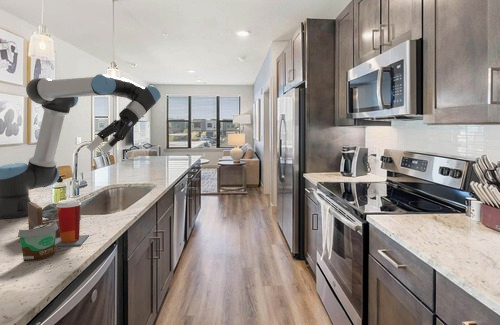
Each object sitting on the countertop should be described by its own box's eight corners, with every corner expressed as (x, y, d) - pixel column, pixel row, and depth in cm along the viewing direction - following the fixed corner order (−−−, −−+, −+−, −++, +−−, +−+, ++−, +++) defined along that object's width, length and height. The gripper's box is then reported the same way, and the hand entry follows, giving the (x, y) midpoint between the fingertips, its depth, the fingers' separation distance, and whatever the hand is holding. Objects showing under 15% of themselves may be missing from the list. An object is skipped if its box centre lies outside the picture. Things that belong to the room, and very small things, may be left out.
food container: (37, 265, 94) (35, 231, 93) (19, 263, 95) (17, 230, 94) (68, 250, 106) (66, 220, 105) (51, 248, 107) (50, 219, 106)
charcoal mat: (59, 238, 118) (59, 236, 117) (88, 236, 120) (88, 234, 120) (48, 247, 108) (48, 245, 108) (80, 245, 110) (80, 244, 110)
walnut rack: (59, 227, 130) (58, 198, 129) (71, 235, 121) (69, 203, 120) (28, 233, 122) (27, 202, 121) (38, 241, 113) (37, 208, 112)
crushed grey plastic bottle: (36, 220, 141) (55, 231, 124) (37, 203, 141) (56, 212, 124) (69, 217, 150) (90, 227, 134) (69, 201, 150) (91, 209, 133)
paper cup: (74, 235, 119) (72, 198, 118) (87, 238, 115) (85, 200, 114) (52, 241, 112) (50, 201, 111) (65, 245, 108) (63, 204, 107)
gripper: (153, 120, 129) (116, 159, 119) (124, 120, 146) (90, 154, 136) (140, 106, 125) (102, 145, 115) (112, 108, 142) (77, 142, 132)
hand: (95, 150), depth 126 cm, fingers open, 13 cm apart
